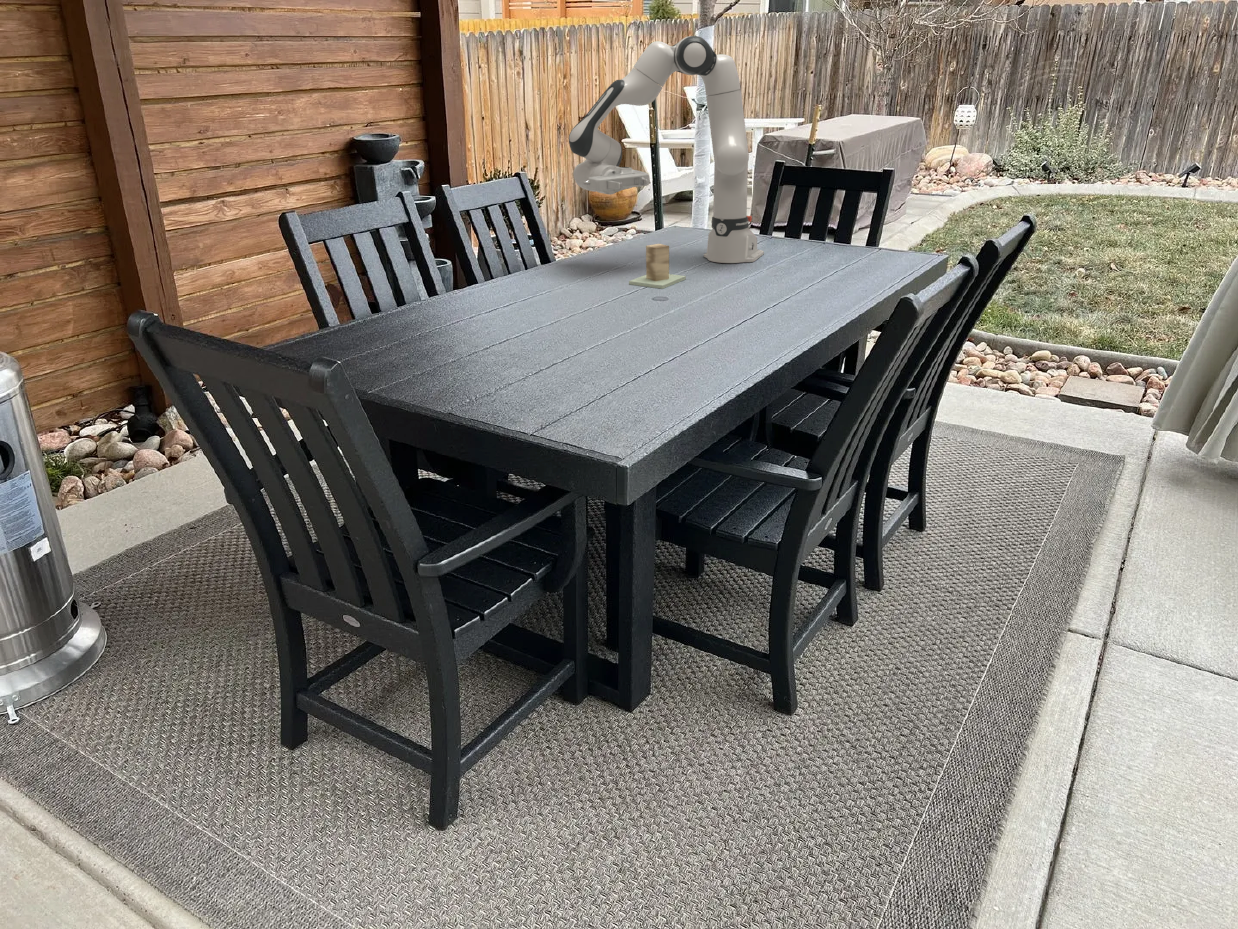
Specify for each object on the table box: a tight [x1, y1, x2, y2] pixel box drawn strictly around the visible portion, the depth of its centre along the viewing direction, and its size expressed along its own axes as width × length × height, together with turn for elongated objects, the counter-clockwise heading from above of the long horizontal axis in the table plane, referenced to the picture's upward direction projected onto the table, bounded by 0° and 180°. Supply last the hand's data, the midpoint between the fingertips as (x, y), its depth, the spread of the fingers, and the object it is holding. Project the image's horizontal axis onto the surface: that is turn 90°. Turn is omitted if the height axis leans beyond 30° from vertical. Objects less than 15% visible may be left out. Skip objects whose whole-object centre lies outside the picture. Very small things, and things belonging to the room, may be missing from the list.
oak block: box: [645, 243, 670, 281], centre depth 281 cm, size 5×5×10 cm
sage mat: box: [628, 273, 687, 290], centre depth 284 cm, size 14×12×1 cm
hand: (633, 183), depth 281 cm, fingers open, 8 cm apart
